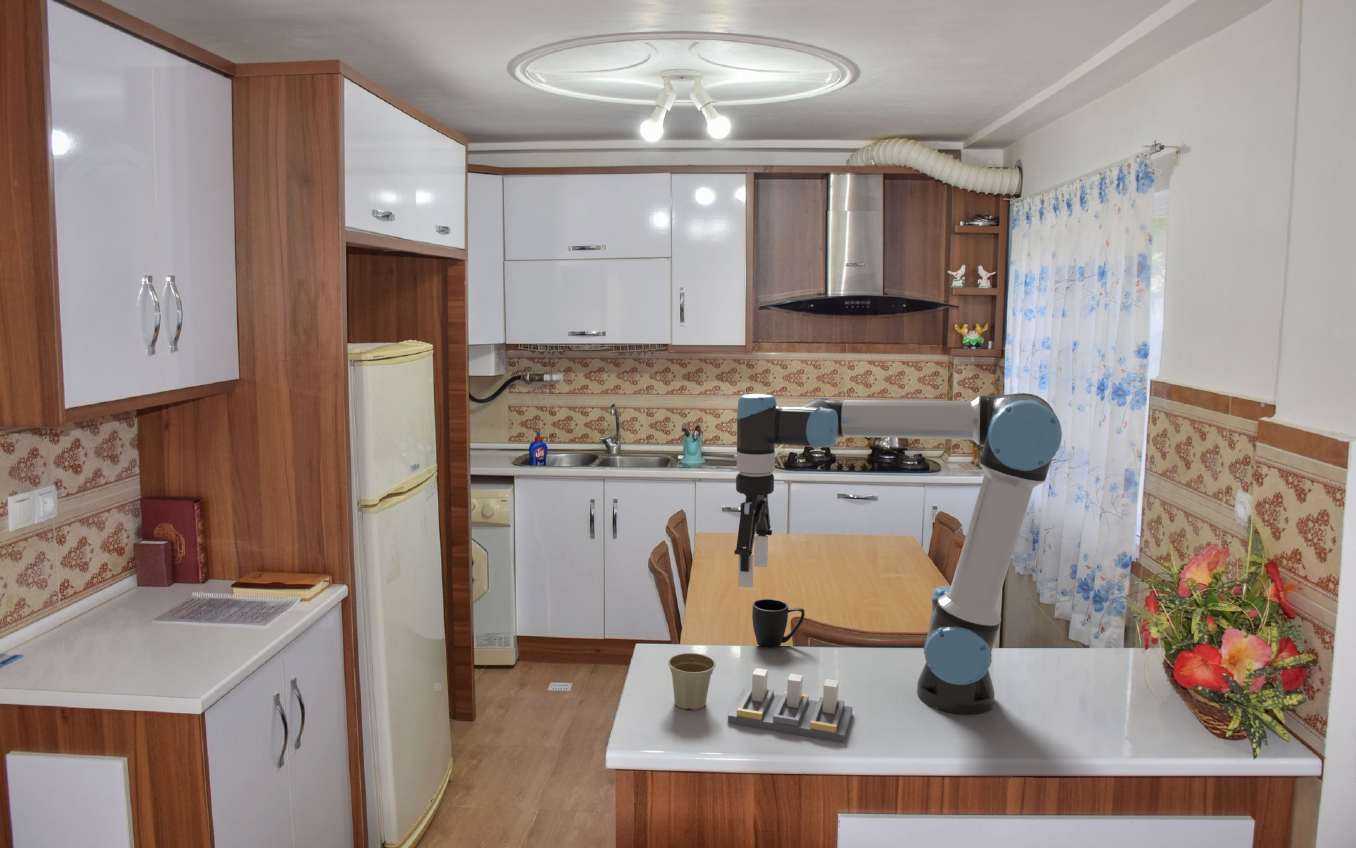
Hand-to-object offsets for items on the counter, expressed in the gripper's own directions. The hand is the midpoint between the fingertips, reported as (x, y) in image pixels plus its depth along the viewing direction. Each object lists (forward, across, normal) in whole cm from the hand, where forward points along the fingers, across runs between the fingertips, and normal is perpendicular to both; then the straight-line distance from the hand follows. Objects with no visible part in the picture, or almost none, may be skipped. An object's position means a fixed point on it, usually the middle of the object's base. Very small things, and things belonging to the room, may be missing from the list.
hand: (753, 576), depth 183 cm
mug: (+25, -26, 0) cm, 36 cm away
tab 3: (+23, +6, +17) cm, 29 cm away
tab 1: (+23, +6, +3) cm, 24 cm away
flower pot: (+25, +9, -10) cm, 28 cm away
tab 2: (+23, +6, +10) cm, 26 cm away
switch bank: (+25, +9, +10) cm, 28 cm away
